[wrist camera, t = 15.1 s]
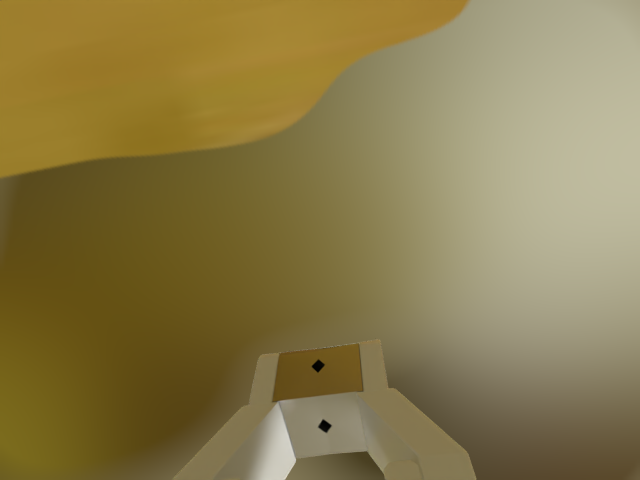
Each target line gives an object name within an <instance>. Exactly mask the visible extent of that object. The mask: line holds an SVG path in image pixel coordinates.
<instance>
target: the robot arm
mask: <svg viewBox="0 0 640 480" xmlns="http://www.w3.org/2000/svg"><path fill="white" fill-rule="evenodd" d="M359 451H368V453H369V454H370V456H371V457H372V458H373V460H374V461H375V462H376V463H377V465H378V466H379V468H380V469H381V470H382V472H383V473H384V474H385V480H476V477H475V474H474V470H473V467H472V464H471V461H470V458H469V455H468V452H466V451H465V450H464V449H463V448H462V447H461V446H459V444H457V443H456V442H455V441H454V440H453V439H452V438H451V437H449V436H448V435H447V434H446V433H445V432H444V431H443V430H441V429H440V428H439V427H438V426H437V425H436V424H435V423H434V422H432V421H431V420H430V419H429V418H428V417H427V416H426V415H424V414H423V413H422V412H421V411H420V410H419V409H418V408H417V407H415V406H414V405H413V404H412V403H411V402H410V401H409V400H407V399H406V398H405V397H404V396H403V395H402V394H401V393H399V392H398V391H397V390H396V389H395V388H390V389H388V384H387V378H386V372H385V365H384V359H383V353H382V348H381V342H380V340H379V339H378V340H372V341H365V342H360V343H355V344H348V345H340V346H333V347H326V348H317V349H308V350H298V351H289V352H281V353H274V354H264V355H261V356H260V358H259V359H258V363H257V368H256V372H255V377H254V382H253V387H252V391H251V396H250V401H249V405H248V406H242V407H241V408H240V409H239V411H237V413H236V414H235V415H234V416H233V417H232V418H231V419H230V420H229V421H228V422H227V423H226V424H225V425H224V426H223V427H222V428H221V429H220V430H219V432H217V433H216V434H215V436H214V437H213V438H212V439H211V440H210V441H209V442H208V443H207V444H206V445H205V446H204V447H203V448H202V449H201V450H200V451H199V452H198V453H197V454H196V456H194V458H193V459H191V461H190V462H189V463H188V464H187V465H186V466H185V467H184V468H183V469H182V470H181V471H180V472H179V473H178V474H177V475H176V476H175V477H174V478H173V479H172V480H285V478H286V477H287V475H288V473H289V472H290V470H291V468H292V467H293V465H294V464H295V462H296V459H297V458H304V457H311V456H319V455H326V454H335V453H348V452H359Z"/></svg>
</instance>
